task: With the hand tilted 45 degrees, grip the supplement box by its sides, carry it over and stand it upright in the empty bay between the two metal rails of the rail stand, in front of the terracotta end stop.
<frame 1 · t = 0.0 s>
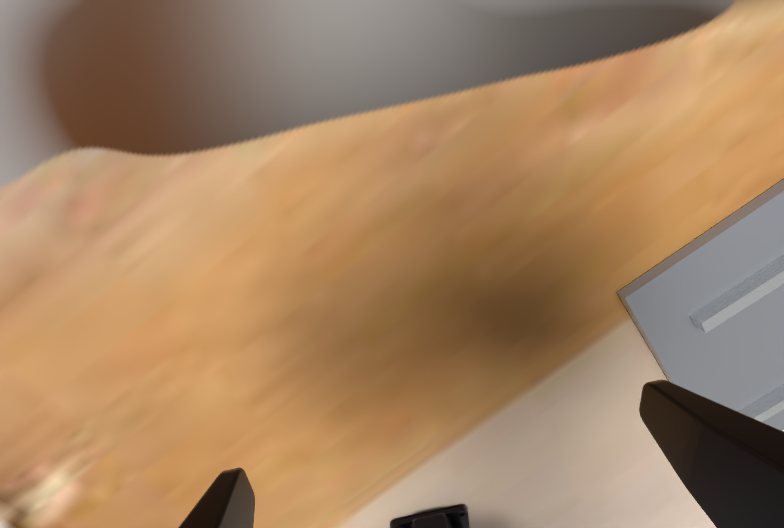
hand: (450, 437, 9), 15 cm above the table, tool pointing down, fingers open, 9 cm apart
rail stand: (781, 318, 29), on the table
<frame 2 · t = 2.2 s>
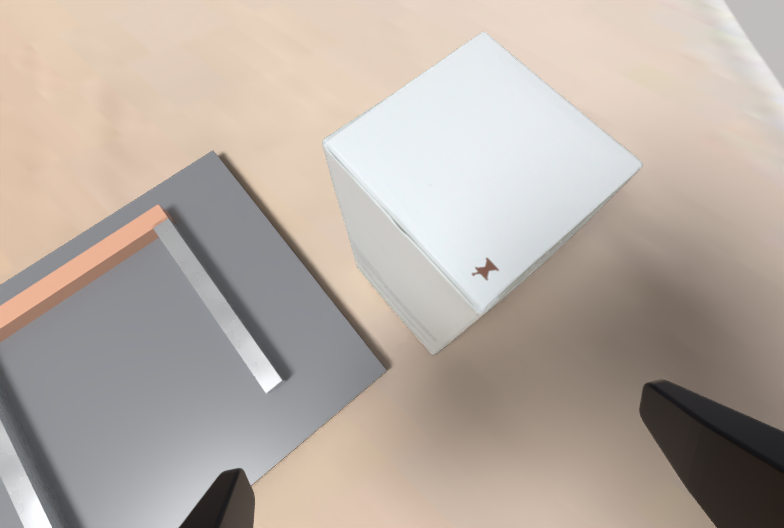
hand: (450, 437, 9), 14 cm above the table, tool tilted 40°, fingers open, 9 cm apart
rail stand: (135, 371, 22), on the table
supplement box: (436, 272, 24), on the table
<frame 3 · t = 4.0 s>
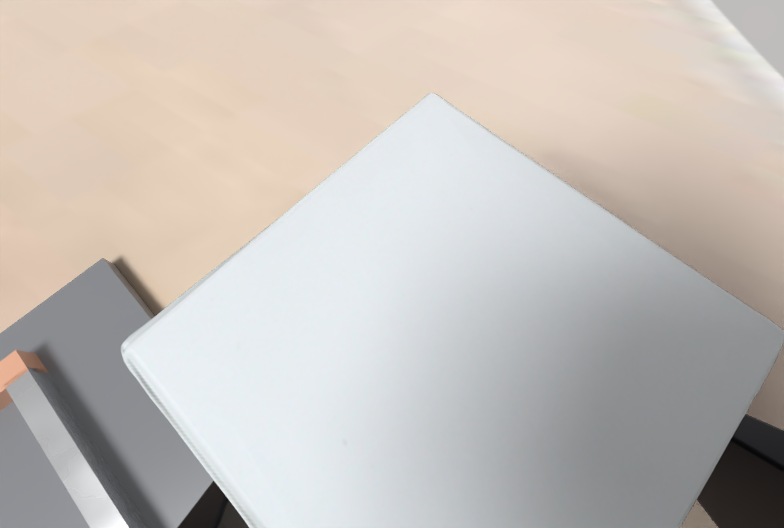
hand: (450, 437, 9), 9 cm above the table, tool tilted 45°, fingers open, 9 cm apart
supplement box: (415, 400, 17), on the table, touching gripper
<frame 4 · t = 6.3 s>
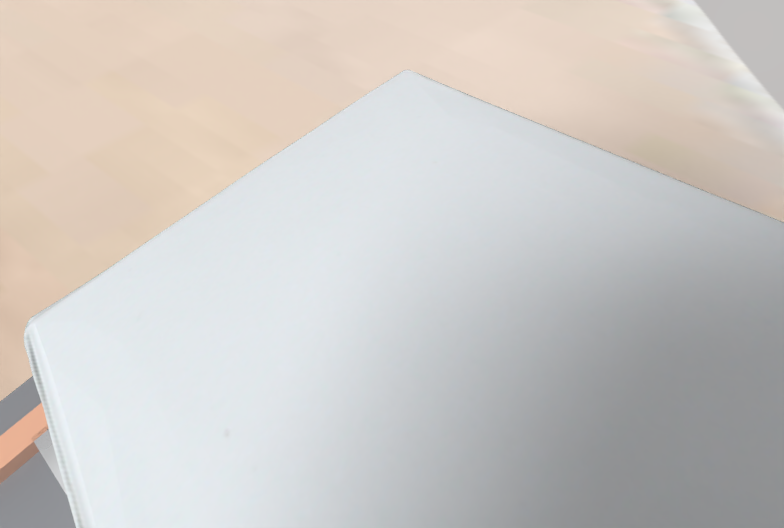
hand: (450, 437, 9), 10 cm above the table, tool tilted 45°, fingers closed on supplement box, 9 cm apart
supplement box: (449, 473, 14), point 4 cm above the table, touching gripper
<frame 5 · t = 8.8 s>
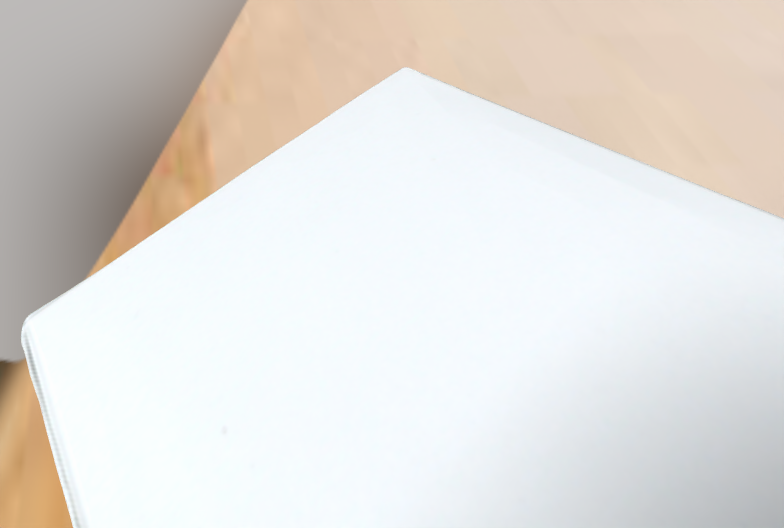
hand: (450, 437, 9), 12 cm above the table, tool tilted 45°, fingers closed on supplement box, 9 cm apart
supplement box: (448, 472, 14), point 5 cm above the table, touching gripper
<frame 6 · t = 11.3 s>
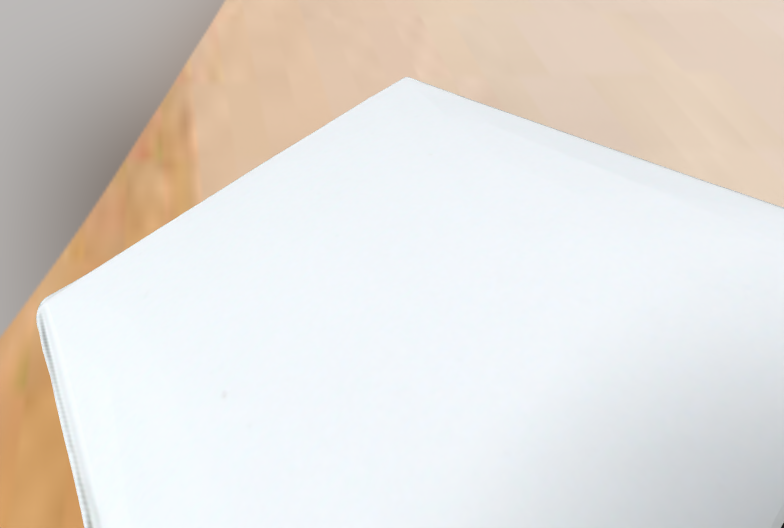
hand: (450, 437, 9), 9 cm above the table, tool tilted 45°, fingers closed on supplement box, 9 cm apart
supplement box: (452, 489, 14), point 2 cm above the table, touching gripper, rail stand
when the fingers open (11 cm above the table, at t = 13.6 s): supplement box stays where it is, resting on rail stand.
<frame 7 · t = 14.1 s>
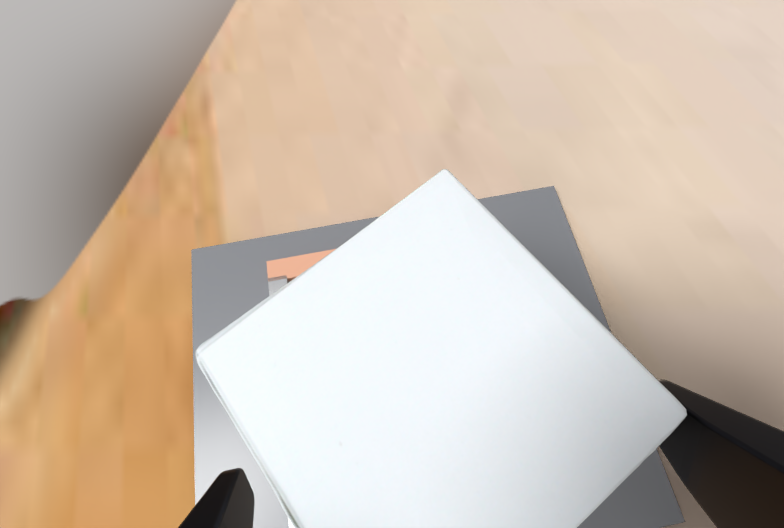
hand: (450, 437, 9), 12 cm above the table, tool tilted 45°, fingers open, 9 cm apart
rail stand: (407, 370, 21), on the table
supplement box: (421, 389, 20), point 1 cm above the table, touching gripper, rail stand
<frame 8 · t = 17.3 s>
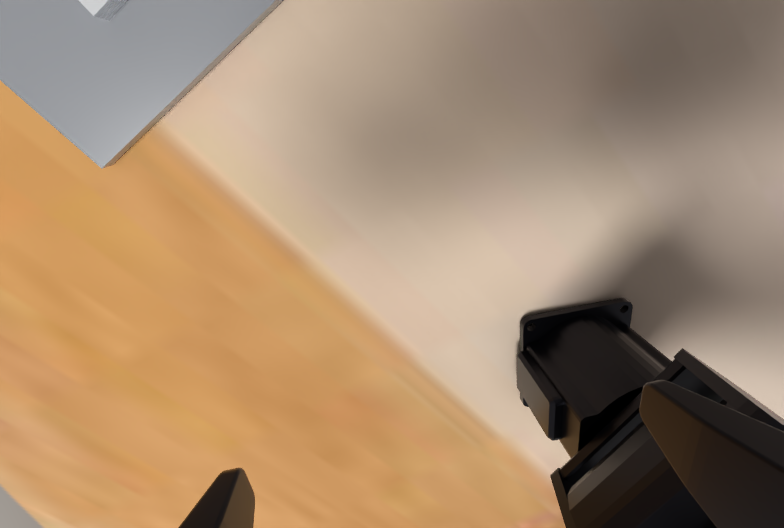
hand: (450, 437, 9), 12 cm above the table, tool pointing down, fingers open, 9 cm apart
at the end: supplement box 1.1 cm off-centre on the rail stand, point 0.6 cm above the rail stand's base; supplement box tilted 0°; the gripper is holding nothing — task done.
